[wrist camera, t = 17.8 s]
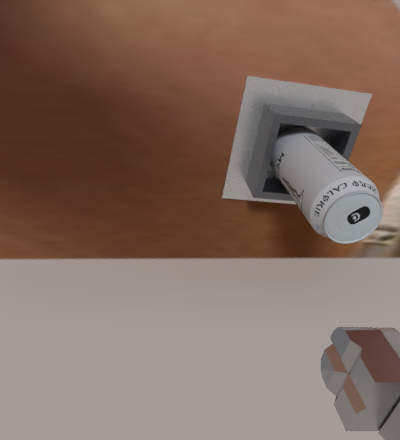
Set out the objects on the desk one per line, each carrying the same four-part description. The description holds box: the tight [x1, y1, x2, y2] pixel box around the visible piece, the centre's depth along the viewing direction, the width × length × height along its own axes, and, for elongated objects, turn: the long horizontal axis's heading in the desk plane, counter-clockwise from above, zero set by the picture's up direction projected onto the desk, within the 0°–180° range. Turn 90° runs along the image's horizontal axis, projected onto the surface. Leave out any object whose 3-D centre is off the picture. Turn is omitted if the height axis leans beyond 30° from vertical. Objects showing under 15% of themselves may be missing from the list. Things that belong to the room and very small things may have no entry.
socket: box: [222, 76, 372, 204], centre depth 41 cm, size 14×14×5 cm
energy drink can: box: [270, 127, 383, 244], centre depth 36 cm, size 6×6×15 cm
